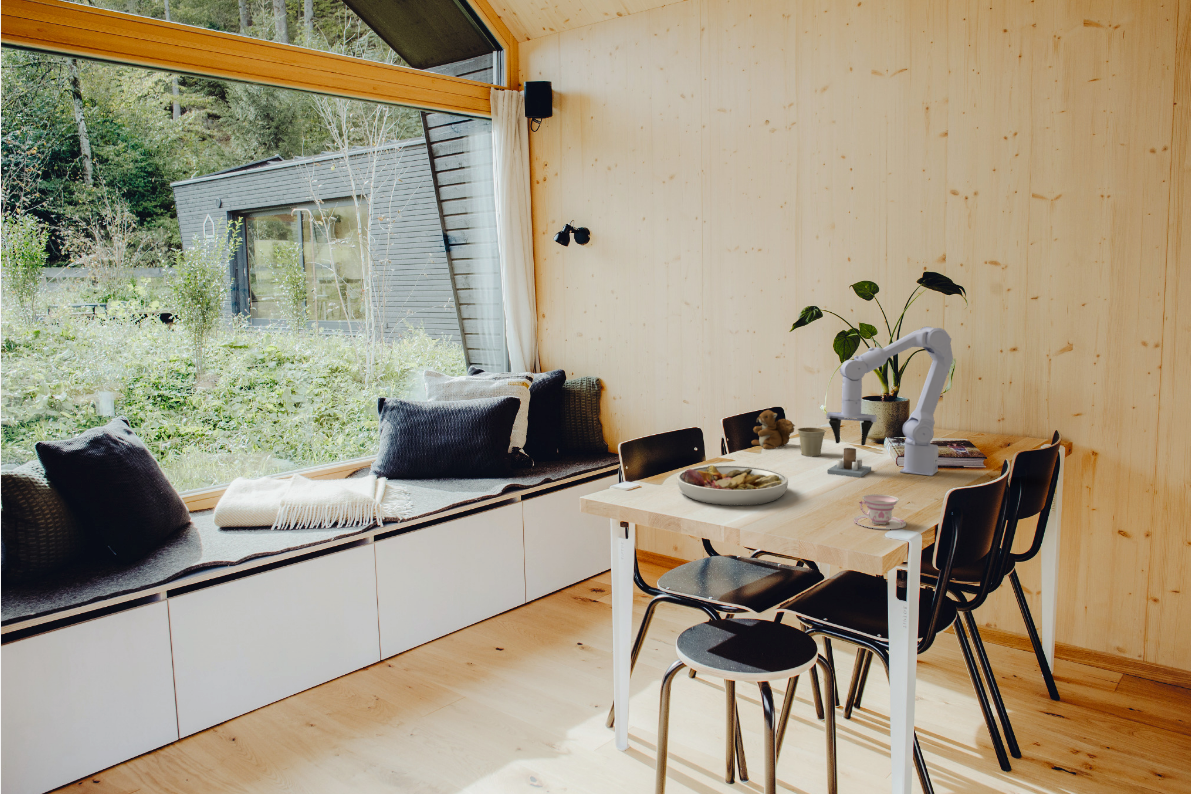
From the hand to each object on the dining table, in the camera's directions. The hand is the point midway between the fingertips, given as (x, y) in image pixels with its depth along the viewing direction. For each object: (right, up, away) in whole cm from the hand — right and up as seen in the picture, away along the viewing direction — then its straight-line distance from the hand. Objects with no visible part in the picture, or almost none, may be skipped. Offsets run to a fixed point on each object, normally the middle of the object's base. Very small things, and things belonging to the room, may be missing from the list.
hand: (850, 443), depth 251 cm
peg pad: (0, -9, +1) cm, 9 cm away
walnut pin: (0, -8, +1) cm, 8 cm away
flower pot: (-5, -6, +27) cm, 28 cm away
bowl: (-40, -13, -23) cm, 48 cm away
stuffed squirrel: (-14, -4, +43) cm, 46 cm away
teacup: (-9, -16, -53) cm, 56 cm away
